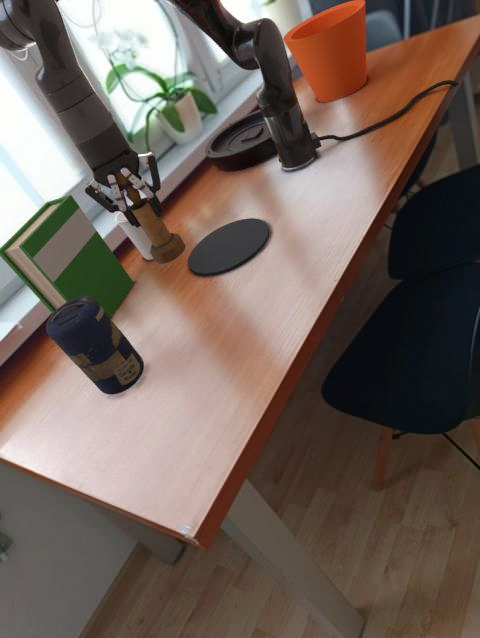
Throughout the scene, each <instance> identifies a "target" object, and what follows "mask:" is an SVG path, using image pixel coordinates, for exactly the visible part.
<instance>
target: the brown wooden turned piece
mask: <svg viewBox="0 0 480 638" xmlns="http://www.w3.org/2000/svg"><path fill="white" fill-rule="evenodd" d="M116 180H117V182H118V184H121V185H126V183H127V180H128V179H127V178H126V177H125V176H124V175H123V174H122V173H121V172H119V173H117V174H116ZM124 191H125V192H126V195H125V197H127V199H128V200H129V201H130V202H131V203H134V204H132V206H131V207H130V210H131V212H132V213H133V215H134V216H135V218H136V219H137V221H138V222H139V224H140V225H141V227H142V228H143V230H144V232H145V233H146V235H147V236H148V238H149V240H150V241H151V243H152V245H151V249H150V253H151V255H152V257H153V258H154V259H153V260H154V262H155V263H156V264H158V265H165V264H169V263H171V262H173V261H175V260H177V258H179V257H180V256H181V255H182V254H183V253H184V252H185V251H186V250H185V249H186V244H185V242H184V240H183V239H182V236H180V234H178V233H174V232H170V231H169V229H168V227H167V226H166V224H165V222H164V221H163V220H162V218H161V216H160V217H158V216H157V214H156V212H155V211H154V209H153V208H152V206H151V204H150V203H149V201H148V197H143V198H142V197H141V194H140V190H139V189H138V188H137V187H135V186H134V185H133V186H129V187H126V188H125V189H124Z"/></svg>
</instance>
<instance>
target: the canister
mask: <svg viewBox="0 0 480 638" xmlns="http://www.w3.org/2000/svg"><path fill="white" fill-rule="evenodd" d="M45 330H46V334H47V335H48V337H49V338H50V339H51V340H52V341H53V342H54V343H55V344H56V345H57V346H58V347H59V349H61V351H62V352H63V353H64V354H65V355H66V356H67V357H68V358H69V359H70V361H71V362H73V363H74V365H75V366H77V367H78V368H79V370H81V372H82V373H83V374H84V375H85V376H86V377H87V378H88V379H89V381H90V382H92V383H93V384H94V386H95V387H96V388H97V389H99V391H101V392H102V393H104V394H105V395H109V396H111V395H112V396H113V395H114V396H115V395H118V394H122V393H124V392H126V391H127V390H129V389H130V388H132V387H133V386H134V385H136V383H137V382H138V381H139V380H140V378H141V377H142V376H143V373H144V369H145V361H144V359H143V358H142V356H141V355H140V353H138V351H137V350H136V349H135V347H134V346H133V345H132V343H131V342H130V341H129V340H128V338H127V337H126V335H125V334H124V333H123V331H122V330H121V329H120V328H119V327H118V326H117V325H116V324H115V322H114V321H113V320H112V319H111V318H110V317H109V316H108V315H107V314H106V312H105V311H104V310H103V308H102V307H101V306H100V305H99V303H98V302H97V301H96V300H95V299H94V298H93V297H90V296H80V297H76V298H74V299H72V300H70V301H68V302H66V303H65V304H63V305H62V306H60V307H59V308H58V309H57V310H56V311H55V312H54V313H53V314H52V313H51V315H50V316H49V318H48V320H47V322H46V325H45Z"/></svg>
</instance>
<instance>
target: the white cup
mask: <svg viewBox="0 0 480 638" xmlns="http://www.w3.org/2000/svg"><path fill="white" fill-rule="evenodd" d="M132 204H134V203H133V202H130V203H129V204H128V205H130V206H132ZM114 219H115V222H116V223H117V224H118V226H119V227H120V228H121V229H122V231H123V232H124V234H125V235H126V236H127V238H128V239H129V241H131V243H132V244H133V245H134V247H135V248H136V249H137V250H138V252H139V253H140V255H141V256H142V257H143V258H144V259H145V260H147V261H152V260H154V258H153V257H152V255H151V253H150V249H151V245H152V243H151V241H150V240H149V238H148V236H147V235H146V233H145V232H144V230H143V228H142V227H141V226H140V227H138V228H136V226H132V225H131V224H130V223H129V221H128V220H127V218H126V217H125V215H124V214H123V213H122V212H120V211H118V213H117V214H116V216H115V218H114Z"/></svg>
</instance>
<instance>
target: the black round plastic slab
mask: <svg viewBox="0 0 480 638" xmlns="http://www.w3.org/2000/svg"><path fill="white" fill-rule="evenodd" d="M204 152H205V155H206V157H207V158H208V160H209V161H210V163H212V165H213V166H215V167H216V168H217V169H219V170H222V171H228V172H231V171H233V172H234V171H239V170H244V169H247V168H251V167H253V166H256V165H259V164H261V163H263V162H265V161H267V160H269V159H271V158H273V157H274V156H275V155H278V154H277V151H276V149H275V146H274V143H273V141H272V138H271V136H270V133H269V130H268V128H267V125H266V123H265V120H264V117H263V115H262V112H261V110H260V109H258V110H255V111H253V112H251V113H248V114H246V115H244V116H242V117H240V118H238V119H236V120H234V121H233V122H231V123H229V124H228V125H226V126H225V127H223V128H222V129H221V130H220V131H218V132H217V133H216V134H214V136H213V137H212V138H211V139H210V140H209V141H208V142H207V144H206V146H205V148H204Z"/></svg>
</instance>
